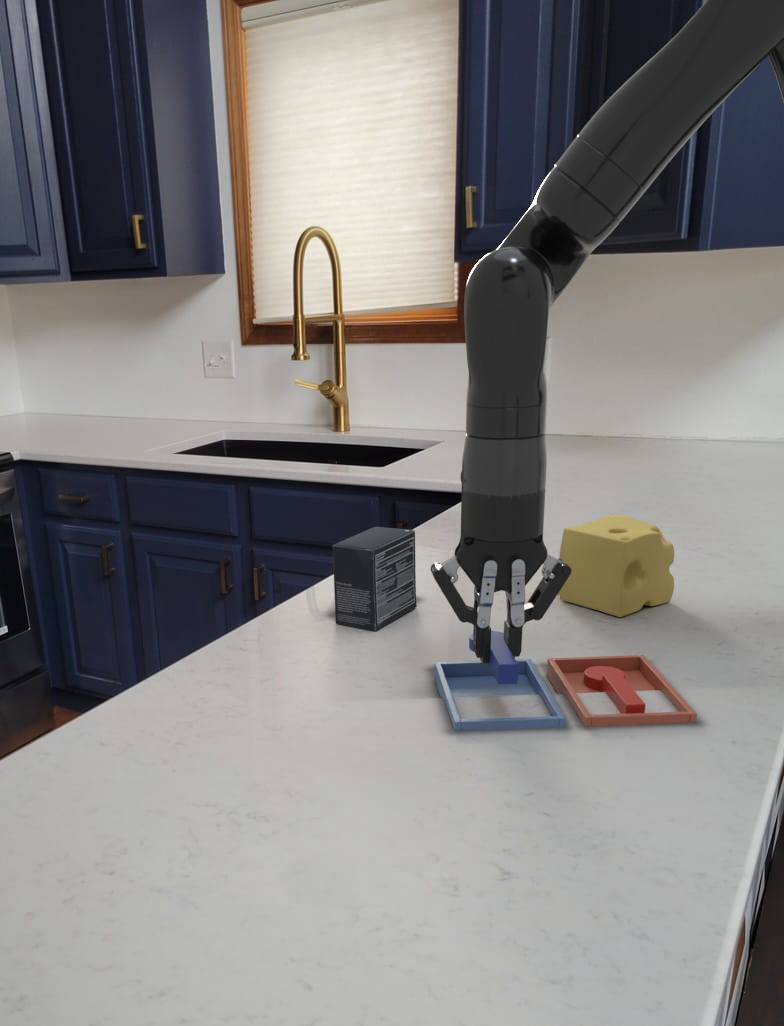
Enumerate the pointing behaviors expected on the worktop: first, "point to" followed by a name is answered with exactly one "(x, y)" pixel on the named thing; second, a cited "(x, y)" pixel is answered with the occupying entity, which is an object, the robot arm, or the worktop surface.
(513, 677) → the blue spoon
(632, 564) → the cheese
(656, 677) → the red tray
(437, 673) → the blue tray
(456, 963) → the worktop surface
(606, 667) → the red spoon
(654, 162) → the robot arm
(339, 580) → the small box
